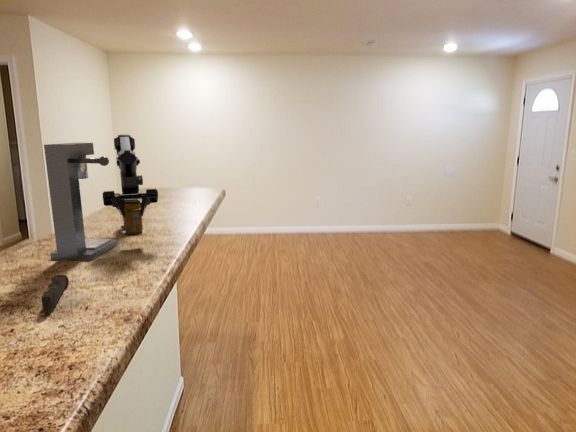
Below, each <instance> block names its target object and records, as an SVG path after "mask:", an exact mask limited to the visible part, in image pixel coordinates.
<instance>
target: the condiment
mask: <svg viewBox="0 0 576 432" xmlns="http://www.w3.org/2000/svg"><path fill="white" fill-rule="evenodd" d="M139 200H140V199H138V200H126V201H124V207H125V208H124V221H123V225H124V224H125V228H124V230H122V231H121V232H122V235H123V237H124V238H125V237H127V238H128V237H139V236H146V232H145V231H144V228H143V216H142V215H141V208H140V202H141V200H140V201H139Z"/></svg>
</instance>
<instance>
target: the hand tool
mask: <svg viewBox="0 0 576 432" xmlns="http://www.w3.org/2000/svg"><path fill="white" fill-rule="evenodd" d="M69 282H70V281H69V277H68V276H67V275H66V274H57V275H55V276H53V277H52V278H51V282H50V284H48V287H47V290H45V291H44V292H43V294H42V295H41V304H42V305H41V307H42V309H43V313H44V316H45V317H47V316H49V315H50V314H51V313H52V312H53V311H54V310H55V309H56V307H57V303H58V301H59V299H60V298H61V295H62V293H63V292H64V291H65V288H67V287H68V286H69V285H70V283H69Z"/></svg>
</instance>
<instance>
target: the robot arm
mask: <svg viewBox="0 0 576 432" xmlns="http://www.w3.org/2000/svg"><path fill="white" fill-rule="evenodd" d="M113 144H114V146H113V147H114V150H116V155H117V156H116V167H118V168H119V170H120V171H119V175H120V182H121V183H120V184H121V193H117V192H116V193H115V190H106V191H105V190H104V191H103V192H102V201H103V206H105V207H110V206H112V207H113V208H116V209H117V210H118V212H119V215H120V216H121V217H122V219H123V221H122V222H124V208H125V207H124V201H126V200H139V201H140V208H141V215H142V217H144V214H145V212H146V208H147V206H149V205H151V204H153V203H154V204H155V203H157V202H158V200H159V191H158V189H156V188H146V189H145V193H143V192H141V193H140V192H139V191H140V186H142V185H144V183H143V182H144V180H143V175H137V167H138V166H139V164H141V160H140V159H139V158H138V156H136V152H135V150H136V143H135V138H133V136H131V135H130V134H118V135H117V137H115V138H113ZM120 228H122V229H125V224H124V223H123V225H121V226H120Z"/></svg>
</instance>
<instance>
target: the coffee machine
mask: <svg viewBox="0 0 576 432" xmlns="http://www.w3.org/2000/svg"><path fill="white" fill-rule="evenodd" d="M43 148H44V156H45V158H44V159H45V165H46V172H47V182H48V188H49V196H50V197H49V198H50V205H51V213H52V220H53V229H54V238H55V245H56V250H54V251H52V252H51V253H50V259H51V260H65V261H67V260H69V261H93V260H94V259H96V258H98V257H100V256H101V255H103V254H105V253H106V252H108V251H110V250H111V249H113V248H114V247H117V246H118V240H117V239H111V238H86V235H85V226H84V217H83V216H84V215H83V207H82V197H81V196H82V195H81V190H80V189H81V188H80V180H86V179H89V172H88V164H96V165H97V164H99V165H100V166H103V167H106V166H108V165H109V163H110V160H109V157H107V156H105V155H103V156H100V157H99V158H98V157H97V158H93V157H91V158H90V157H87V156H91V155H92V156H93V155H95V151H94V149H95V148H94V142H67V143H65V142H64V143H49V144H43Z"/></svg>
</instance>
